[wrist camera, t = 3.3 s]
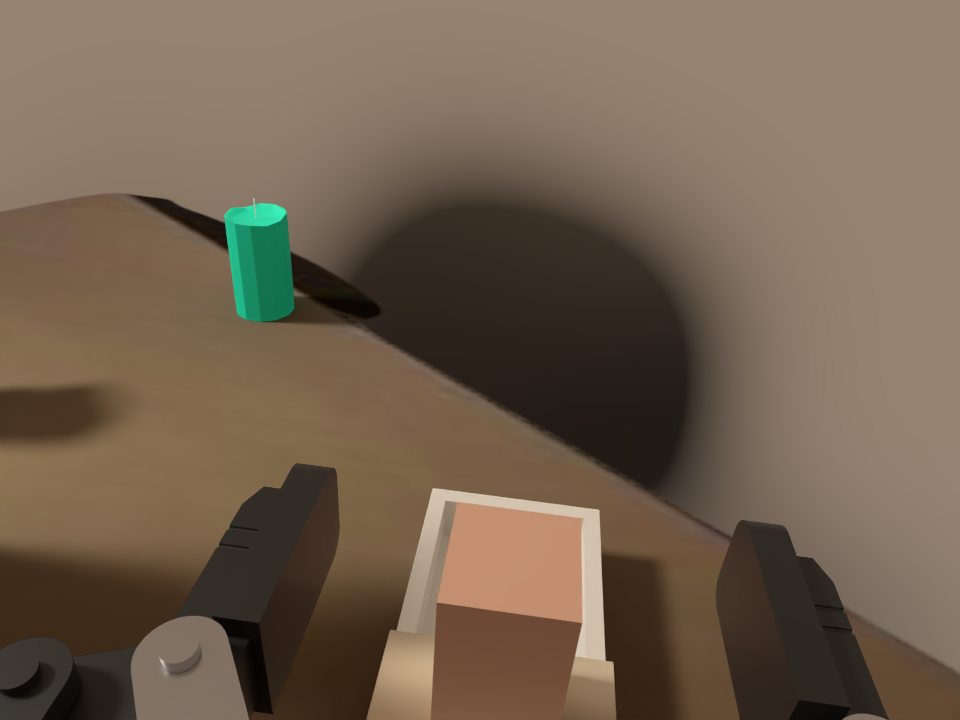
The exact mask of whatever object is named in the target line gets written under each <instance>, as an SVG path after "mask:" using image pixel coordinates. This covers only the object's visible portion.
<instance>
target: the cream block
mask: <svg viewBox="0 0 960 720" xmlns="http://www.w3.org/2000/svg"><path fill="white" fill-rule="evenodd" d="M434 645H435V636H430V635H423V634H416V633H409V632H402V631H395V630H390V632H389V636H388V640H387V644H386V647H385V651H384V655H383V659H382V662H381V666H380V670H379V674H378V677H377V681H376V685H375V689H374V693H373V696H372V700H371V704H370V708H369V711H368V715H367V719H366V720H431V702H432V683H433V664H434ZM561 720H616V703H615V684H614V665H613V662H610V661H603V660H596V659H589V658H582V657H575V658H574V663H573V667H572V672H571V676H570V681H569V685H568V690H567V694H566V699H565V703H564V708H563V712H562V717H561Z"/></svg>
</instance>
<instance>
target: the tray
mask: <svg viewBox="0 0 960 720" xmlns="http://www.w3.org/2000/svg"><path fill="white" fill-rule="evenodd" d="M457 502H463V503H470V504H478V505H485V506H493V507H501V508H508V509H516V510H523V511H531V512H538V513H546V514H554V515H561V516H569V517H576V518H581V541H582V627H581V632H580V636H579V641H578V645H577V650H576V654H575V657H582V658H589V659H596V660H603V661H605V637H604V614H603V590H602V566H601V543H600V519H599V510H596V509H588V508H581V507H573V506H565V505H558V504H550V503H542V502H535V501H527V500H520V499H512V498H504V497H497V496H489V495H481V494H474V493H466V492H459V491H451V490H443V489H436V488H433V490H432V494H431V497H430V501H429V505H428V509H427V513H426V517H425V521H424V525H423V529H422V533H421V537H420V540H419V544H418V548H417V552H416V556H415V560H414V564H413V568H412V572H411V576H410V580H409V583H408V587H407V591H406V595H405V599H404V603H403V607H402V611H401V615H400V619H399V622H398V626H397V630H396V631H402V632H409V633H416V634H423V635H430V636H435V625H436V606H437V599H438V594H439V589H440V584H441V579H442V574H443V569H444V565H445V560H446V555H447V550H448V545H449V540H450V536H451V531H452V526H453V521H454V516H455V511H456V507H457Z"/></svg>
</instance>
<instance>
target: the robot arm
mask: <svg viewBox="0 0 960 720" xmlns="http://www.w3.org/2000/svg"><path fill="white" fill-rule="evenodd" d="M338 538H339V506H338V488H337V473H336V470H335V469H334V468H329V467H322V466H314V465H306V464H299V463H297V464H295V465H294V466H293V467H292V469H291V471H290V472H289V474H288V476H287V478H286V480H285V482H284V484H283V485H282V487H281V489H279V488H271V487H263V488H262V489H260V490H259V491H258V492H257V493H255V494H254V495H253V496H252V497H250V498H249V499H248V500H247V501H245V502H244V503H243V504H242V505H241V507H240V509H239V510H238V512H237V514H236V516H235V517H234V519H233V521H232V522H231V524H230V528H229V530H227V531H226V533H225V534H224V536H223V538H222V539H221V541H220V543H219V547H218V548H216V549H215V551H214V553H213V555H212V556H211V558H210V560H209V561H208V563H207V565H206V566H205V568H204V570H203V571H202V573H201V575H200V577H199V578H198V580H197V582H196V583H195V585H194V587H193V588H192V590H191V592H190V593H189V595H188V597H187V599H186V600H185V602H184V604H183V605H182V607H181V609H180V610H179V612H178V613H177V615H176V616H175V618H174V619H173V620H171V621H168V622H166V623H164V624H162V625H160V626H158V627H157V628H155V629H154V630H153V631H151V632H150V633H149V634H148V635H147V636H146V637H145V638H144V639H143V640H142V641H141V642H140V644H138V645H135V646H132V647H129V648H125V649H121V650H115V651H109V652H102V653H95V654H88V655H81V656H75V657H73V656H72V654H71V651H70V649H69V648H68V647H67V645H65V644H64V643H63V642H61V641H59V640H57V639H53V638H49V637H36V638H29V639H24V640H21V641H18V642H15V643H12V644H10V645H8V646H6V647H4V648H2V649H0V720H250V718H251V716H252V713H253V711H255V712H262V713H268V714H273V713H274V710H275V707H276V705H277V702H278V700H279V697H280V695H281V692H282V690H283V687H284V684H285V682H286V679H287V677H288V674H289V672H290V669H291V667H292V664H293V661H294V659H295V656H296V654H297V651H298V649H299V646H300V643H301V641H302V638H303V636H304V633H305V631H306V628H307V626H308V623H309V620H310V618H311V615H312V613H313V610H314V608H315V605H316V603H317V600H318V597H319V595H320V592H321V590H322V587H323V585H324V582H325V580H326V577H327V574H328V572H329V569H330V567H331V564H332V562H333V559H334V556H335V553H336V549H337V544H338ZM716 605H717V612H718V617H719V621H720V626H721V631H722V636H723V640H724V645H725V650H726V655H727V659H728V664H729V669H730V674H731V678H732V683H733V688H734V693H735V697H736V702H737V707H738V711H739V716H740V720H889V719H888V717H887V715H886V712H885V710H884V707H883V705H882V702H881V700H880V697H879V695H878V692H877V690H876V687H875V685H874V682H873V680H872V677H871V675H870V672H869V670H868V667H867V665H866V662H865V660H864V658H863V655H862V653H861V650H860V648H859V645H858V643H857V640H856V638H855V635H852V628H851V625H850V623H849V620H848V618H847V615H846V613H844V612H843V609H844V608H843V605H842V603H841V600H840V598H839V595H838V593H837V590H836V588H835V585H834V583H833V582H832V580H831V579H830V578H829V577H828V576H827V574H826V573H825V572H824V571H823V570H822V569H821V567H820V566H819V565H818V564H817V563H816V562H815V561H814V559H813V558H806V557H799V556H796V553H795V550H794V547H793V545H792V542H791V539H790V536H789V534H788V531H787V529H786V528H785V527H784V526H782V525H775V524H768V523H760V522H752V521H745V520H741V521H740V522H739V523H738V524H737V526H736V529H735V532H734V534H733V537H732V540H731V543H730V546H729V548H728V551H727V554H726V557H725V560H724V562H723V565H722V568H721V571H720V574H719V577H718V581H717V589H716Z"/></svg>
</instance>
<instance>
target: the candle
mask: <svg viewBox="0 0 960 720" xmlns="http://www.w3.org/2000/svg"><path fill="white" fill-rule="evenodd" d="M253 201H254V205H252V206H249V207H243V208H231V209H230V210H229V211H228V212H227V213H226V214H225V215H224V217H225V225H226V233H227V240H228V248H229V255H230V263H231V270H232V278H233V286H234V293H235V301H236V308H237V314H238V315H239V316H241V317H243V318H244V319H246V320H251V321H258V322H264V321H273V320H278V319H281V318H283V317H286V316H288V315H290V313H291V312H292V311H293V310H294V309H295V306H294V293H293V281H292V269H291V257H290V245H289V234H288V221H287V212H286V210H285V209H284V208H282V207H280V206H278V205H275V204H264V203H260V204H256V205H255V199H254V198H253Z"/></svg>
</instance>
